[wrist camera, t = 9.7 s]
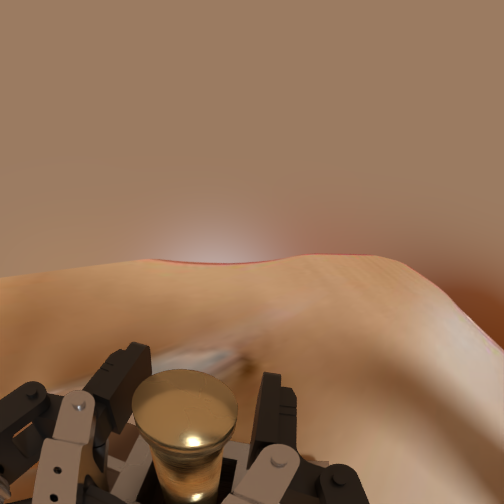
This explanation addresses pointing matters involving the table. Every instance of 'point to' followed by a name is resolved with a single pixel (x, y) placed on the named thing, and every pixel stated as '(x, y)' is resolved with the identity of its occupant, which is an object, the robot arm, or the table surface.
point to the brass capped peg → (186, 431)
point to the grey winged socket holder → (146, 480)
